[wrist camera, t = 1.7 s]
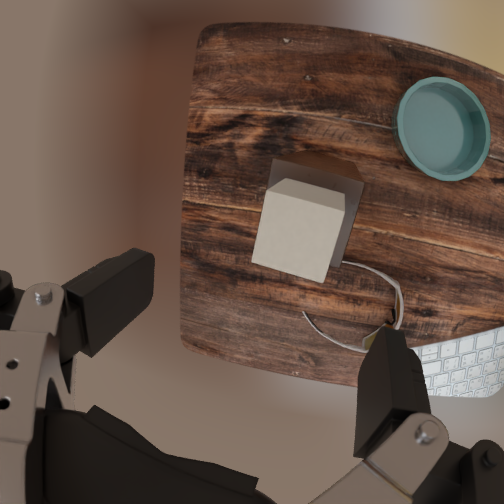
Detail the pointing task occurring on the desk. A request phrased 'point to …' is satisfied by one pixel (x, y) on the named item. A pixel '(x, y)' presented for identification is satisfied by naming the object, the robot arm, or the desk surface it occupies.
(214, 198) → the desk surface
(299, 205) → the block
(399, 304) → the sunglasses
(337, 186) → the block
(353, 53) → the desk surface
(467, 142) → the bowl
